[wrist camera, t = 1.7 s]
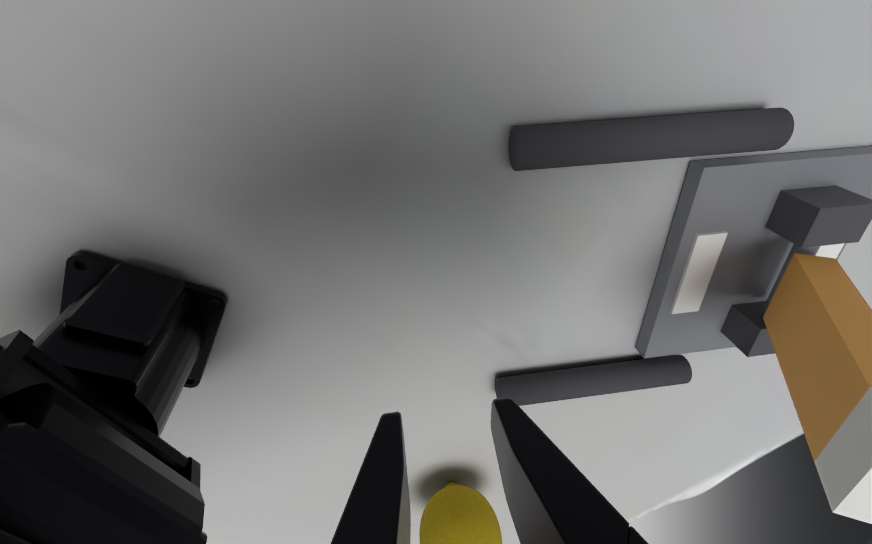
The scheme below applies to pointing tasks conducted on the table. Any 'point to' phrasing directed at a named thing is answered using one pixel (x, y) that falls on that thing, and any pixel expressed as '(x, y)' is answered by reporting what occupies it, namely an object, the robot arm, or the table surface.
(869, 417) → the lever
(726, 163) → the base
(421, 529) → the lemon
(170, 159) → the table surface
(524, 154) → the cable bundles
